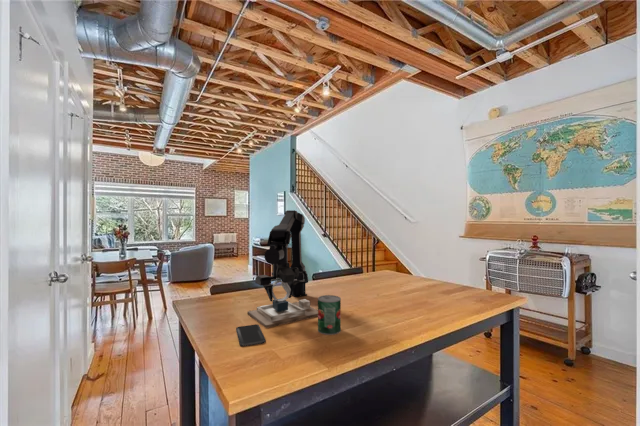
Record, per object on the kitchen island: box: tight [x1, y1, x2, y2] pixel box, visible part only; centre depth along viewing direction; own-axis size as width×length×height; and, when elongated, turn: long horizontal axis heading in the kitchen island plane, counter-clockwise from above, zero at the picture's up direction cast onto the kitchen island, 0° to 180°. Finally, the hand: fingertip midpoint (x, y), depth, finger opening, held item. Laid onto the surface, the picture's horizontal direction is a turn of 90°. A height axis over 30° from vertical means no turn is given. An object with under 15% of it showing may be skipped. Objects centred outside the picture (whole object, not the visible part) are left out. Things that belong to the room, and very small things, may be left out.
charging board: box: [247, 298, 318, 329], centre depth 119 cm, size 24×18×4 cm
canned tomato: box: [317, 294, 342, 336], centre depth 103 cm, size 8×8×11 cm
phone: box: [235, 324, 267, 348], centre depth 99 cm, size 8×1×15 cm
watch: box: [271, 280, 291, 312], centre depth 118 cm, size 6×8×11 cm
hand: (280, 299), depth 118 cm, fingers closed on watch, 7 cm apart
